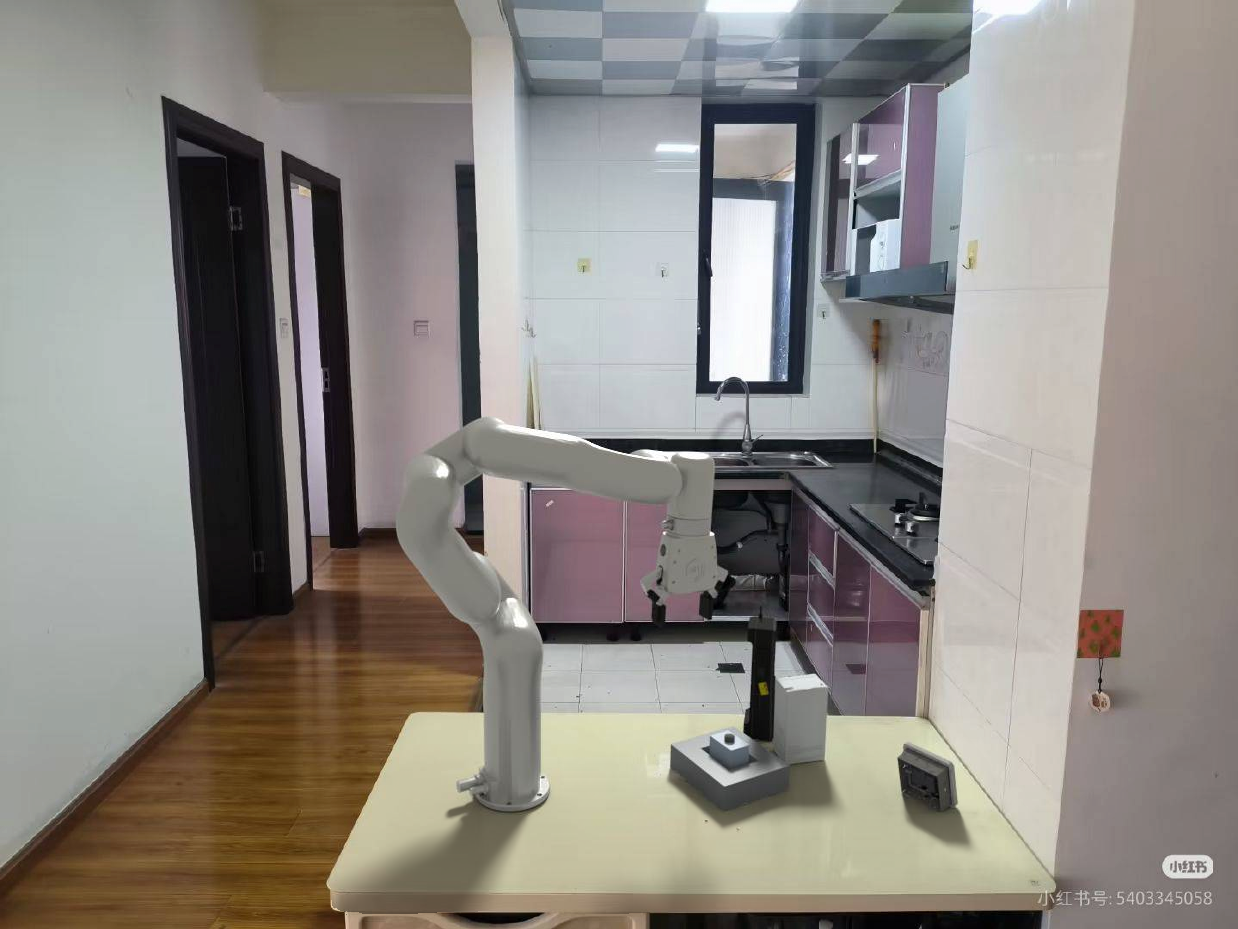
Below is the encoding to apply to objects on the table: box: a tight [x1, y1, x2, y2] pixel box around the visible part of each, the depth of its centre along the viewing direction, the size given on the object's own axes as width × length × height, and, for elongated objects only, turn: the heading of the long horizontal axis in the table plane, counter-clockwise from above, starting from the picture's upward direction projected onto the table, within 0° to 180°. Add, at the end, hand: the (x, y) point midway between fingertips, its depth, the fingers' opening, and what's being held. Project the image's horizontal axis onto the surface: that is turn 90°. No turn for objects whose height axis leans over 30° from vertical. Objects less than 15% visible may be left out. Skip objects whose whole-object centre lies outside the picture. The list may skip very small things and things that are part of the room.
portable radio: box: [742, 604, 778, 742], centre depth 172 cm, size 8×6×25 cm
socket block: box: [669, 726, 791, 812], centre depth 159 cm, size 14×16×4 cm
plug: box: [709, 730, 749, 770], centre depth 158 cm, size 4×6×7 cm, turn 31°
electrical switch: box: [896, 741, 959, 814], centre depth 152 cm, size 9×5×9 cm, turn 38°
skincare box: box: [772, 673, 829, 765], centre depth 165 cm, size 8×6×15 cm
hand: (682, 621), depth 156 cm, fingers open, 9 cm apart
